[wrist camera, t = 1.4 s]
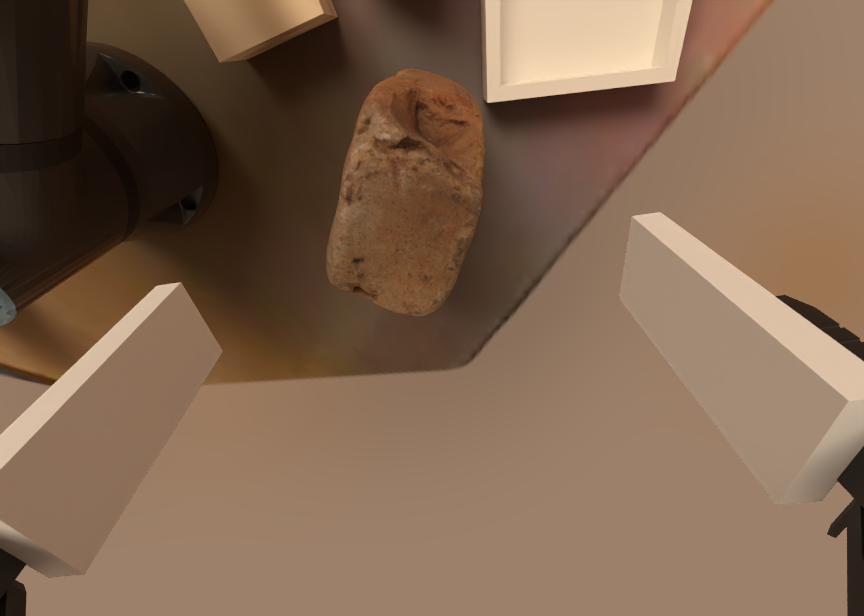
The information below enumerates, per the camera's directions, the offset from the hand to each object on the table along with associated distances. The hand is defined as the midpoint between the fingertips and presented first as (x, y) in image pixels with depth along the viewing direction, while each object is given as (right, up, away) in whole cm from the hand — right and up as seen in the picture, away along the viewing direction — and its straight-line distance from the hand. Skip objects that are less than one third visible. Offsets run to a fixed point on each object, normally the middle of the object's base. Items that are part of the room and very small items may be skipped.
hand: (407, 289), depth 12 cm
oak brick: (-11, +22, +17) cm, 30 cm away
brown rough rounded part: (-1, +14, +22) cm, 27 cm away
